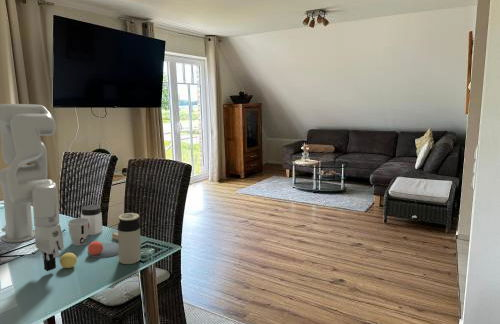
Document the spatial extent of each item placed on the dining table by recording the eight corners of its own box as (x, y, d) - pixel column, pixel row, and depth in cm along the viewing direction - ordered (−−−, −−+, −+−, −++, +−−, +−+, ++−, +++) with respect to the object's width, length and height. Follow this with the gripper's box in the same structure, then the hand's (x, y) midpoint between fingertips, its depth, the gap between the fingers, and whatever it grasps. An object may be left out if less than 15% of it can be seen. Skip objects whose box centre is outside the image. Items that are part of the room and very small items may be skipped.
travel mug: (120, 266, 129) (118, 220, 126) (118, 257, 136) (116, 213, 133) (142, 262, 132) (141, 218, 129) (139, 254, 139) (138, 211, 136)
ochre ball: (74, 247, 128) (76, 259, 131) (57, 252, 126) (60, 264, 128) (76, 256, 124) (79, 268, 126) (59, 261, 121) (62, 273, 124)
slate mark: (102, 261, 132) (102, 260, 132) (80, 252, 139) (80, 251, 139) (131, 248, 144) (131, 248, 144) (110, 240, 151) (110, 240, 151)
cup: (81, 248, 143) (80, 225, 141) (64, 245, 144) (63, 223, 142) (94, 240, 150) (93, 218, 149) (78, 238, 152) (76, 217, 150)
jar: (79, 236, 155) (78, 210, 153) (83, 229, 163) (82, 205, 161) (100, 235, 157) (99, 209, 155) (103, 228, 165) (103, 204, 163)
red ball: (94, 236, 138) (101, 244, 142) (82, 246, 136) (90, 254, 139) (100, 241, 135) (107, 250, 138) (88, 252, 132) (96, 260, 136)
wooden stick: (137, 247, 145) (137, 242, 145) (112, 238, 153) (112, 233, 153) (141, 246, 147) (140, 240, 146) (116, 237, 155) (116, 232, 154)
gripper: (70, 221, 118) (72, 270, 121) (45, 212, 126) (49, 259, 129) (47, 227, 112) (51, 279, 115) (23, 218, 119) (27, 267, 122)
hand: (50, 269), depth 122 cm, fingers closed
